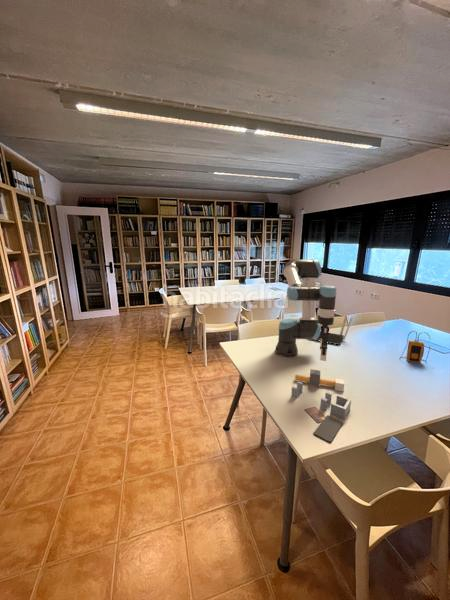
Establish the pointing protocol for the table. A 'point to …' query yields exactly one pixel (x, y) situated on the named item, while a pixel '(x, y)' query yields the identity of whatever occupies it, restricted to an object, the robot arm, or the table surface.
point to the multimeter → (415, 350)
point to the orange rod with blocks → (320, 380)
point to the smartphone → (328, 429)
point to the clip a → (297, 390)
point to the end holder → (341, 407)
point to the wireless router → (336, 337)
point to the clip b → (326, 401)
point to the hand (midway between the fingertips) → (322, 355)
